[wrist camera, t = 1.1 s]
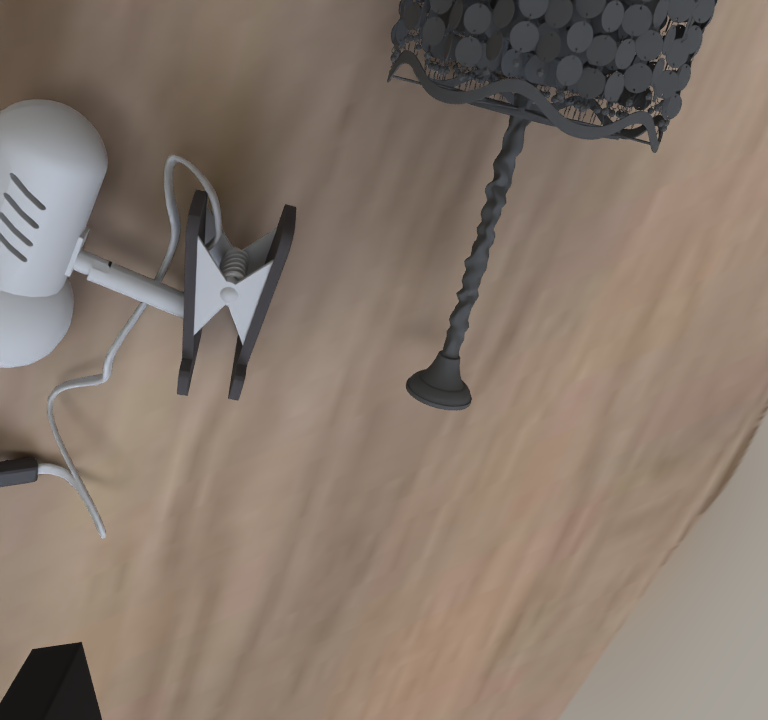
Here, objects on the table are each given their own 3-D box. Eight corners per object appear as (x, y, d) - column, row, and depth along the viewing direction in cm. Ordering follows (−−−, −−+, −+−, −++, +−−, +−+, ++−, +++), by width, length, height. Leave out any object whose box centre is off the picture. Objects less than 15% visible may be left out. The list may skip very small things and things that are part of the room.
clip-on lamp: (158, 482, 38) (325, 199, 28) (133, 590, 33) (325, 289, 23) (-93, 402, 33) (7, 38, 24) (-167, 512, 28) (-76, 106, 19)
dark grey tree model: (316, 326, 32) (319, 436, 23) (452, -313, 23) (534, -507, 15) (520, 363, 33) (593, 479, 25) (717, -219, 25) (929, -346, 16)
